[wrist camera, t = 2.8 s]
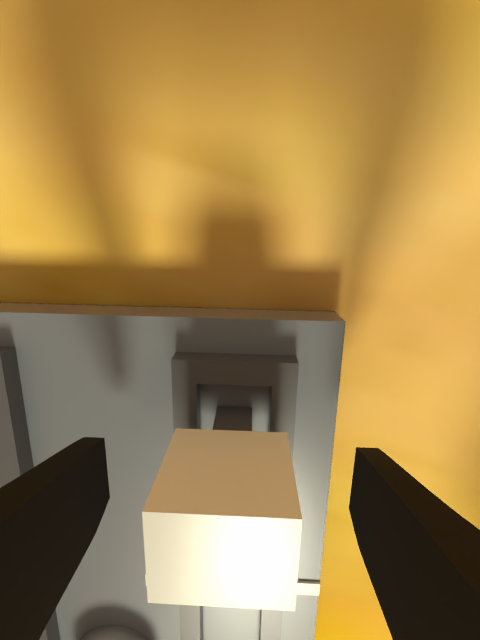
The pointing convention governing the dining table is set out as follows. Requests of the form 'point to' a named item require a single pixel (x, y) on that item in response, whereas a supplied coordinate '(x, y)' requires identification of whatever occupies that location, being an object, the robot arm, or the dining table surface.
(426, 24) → the dining table surface
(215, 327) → the console
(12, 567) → the robot arm
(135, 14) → the dining table surface
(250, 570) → the block
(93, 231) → the dining table surface
